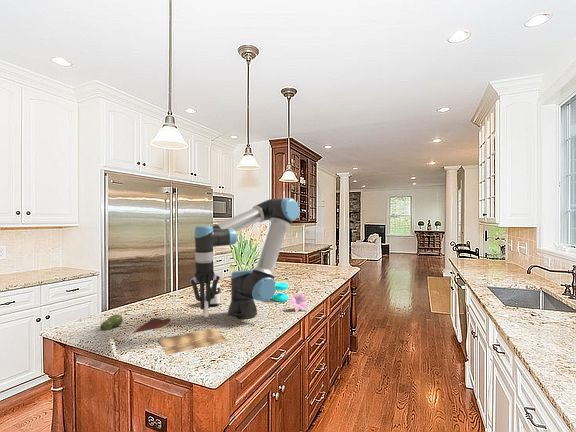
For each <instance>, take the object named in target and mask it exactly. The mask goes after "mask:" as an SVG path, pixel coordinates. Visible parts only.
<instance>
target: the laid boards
mask: <svg viewBox="0 0 576 432" xmlns="http://www.w3.org/2000/svg"><path fill="white" fill-rule="evenodd" d="M228 341H229V339H227V338H226V337H225V336H223V334H221V335H219V336H215V337H210V338H205V339H201V340H196V341H191V342H187V343H182V344H178V345H173V346H168V347H164V348H163V347H162V349H163V350H164V352H165V353H166V355H168V356H169V355H172V354H176V353H177V354H178V353H180V352H182V353H183V352H185V351H190V350H195V349H198V348H203V347H206V346H207V347H208V346H212V345H216V344H217V345H218V344H220V343H221V344H222V343H224V342H226V343H227V342H228Z"/></svg>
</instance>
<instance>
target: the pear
mask: <svg viewBox="0 0 576 432" xmlns="http://www.w3.org/2000/svg"><path fill="white" fill-rule="evenodd" d="M123 321H124V319H123V316H122V315H121V314H117V313H116V314H113V315H111V316H109V317H108V318H107V319H106V320H104V321H103V322H102V323H101V324H100V325H99V327H100V329H101V331H102V330H103V331H109V330H111V329H112V328H113V327H119V326H121V324H123Z"/></svg>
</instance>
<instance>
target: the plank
mask: <svg viewBox="0 0 576 432" xmlns="http://www.w3.org/2000/svg"><path fill="white" fill-rule="evenodd" d="M221 335H222V333H220V332H219V330H218V329H216V328H215V327H214V328H208V329H203V330H199V331H194V332H189V333H183V334H178V335H174V336H169V337H165V338H164V337H163V338H159V339H158V343H159V344H160V346H161V347H162V349H163V348H165V347H170V346H175V345H179V344H184V343H189V342H193V341H198V340H202V339H207V338H212V337H216V336H221Z"/></svg>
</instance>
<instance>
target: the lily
mask: <svg viewBox="0 0 576 432" xmlns="http://www.w3.org/2000/svg"><path fill="white" fill-rule="evenodd" d="M290 295H291V296H290V297H292V298H291V299H290V300H289V301H288V302H287V304H288V305H291V306H294V309H295V310H294V311H295V313H298V311H299V310H300V309H301V310H303V311H306V312H308V311H309V310H308V307H307V304H306V303H308V302H309V299H308V298H304V293H303V290H302V289H300V290H299V291H298V293H296V294H294V293H293V292H290Z"/></svg>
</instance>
